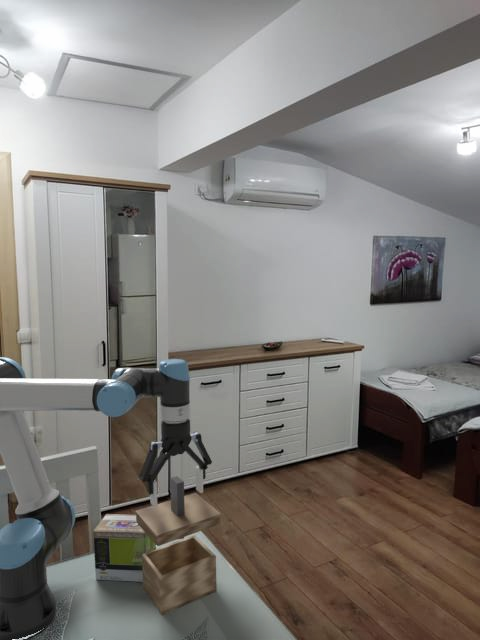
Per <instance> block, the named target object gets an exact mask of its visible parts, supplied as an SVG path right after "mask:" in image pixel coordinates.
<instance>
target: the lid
mask: <svg viewBox="0 0 480 640" xmlns="http://www.w3.org/2000/svg"><path fill="white" fill-rule="evenodd" d="M169 480H170V500H167V501H164V502H161V503H157V507H154V506H153V505H150V506H148V507H143V508H140V509H137V510H135V511H134V513H135V514H134V515H136V521H137V523H138V524H139V526H140V527H141V528H142V529H143V530H144V532H145V533H146V534H147V535H148V536H149V537H150V539H151V540H152V541H153V542H154V543H155V545H156V547H160V546H162V545H167V544H168V543H171V542H175V541H176V540H177V541H178V540H179V539H182V538H183V539H184V538H186V537H188V536H192V535H194V534H196V533H199V532H201V531H204V530H207V529H210V528H214V527H215V526H219V525H221V518H222V513H221V512H220V511H219V510H217V509H216V508H215V507H214V506H213V505H211V504H210V503H209V502H208V501H206V500H205V499H204V498H203V497H202V496H200V495H199V494H198V493H197V492H193V493H191V494H187V495H185V481H184V480H182V478H180V477H179V476H178V475H177V476H173V477H170V478H169Z"/></svg>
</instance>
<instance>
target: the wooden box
mask: <svg viewBox="0 0 480 640" xmlns="http://www.w3.org/2000/svg"><path fill="white" fill-rule="evenodd" d="M142 566H143V582H142V589H143V590H144V592H145V593H146V595H147V597H148V598H149V600H151V602H152V604H153V605H154V606H155V608H156V609H157V611H158V613H159V614H160V615H161V616H164V615H166V614H169V613H170V612H172V611H174V610H177V609H179V608H182V607H184V606H185V605H188V604H190V603H193V602H194V601H198V600H199V599H202V598H204V597H207V596H209V595H210V594H213V593H215V592H217V589H218V588H217V556H216V554H214V553H213V552H212V551H211V550H210V549H209V547H207V546H206V544H205V543H203V542H202V541H201V540H200V539H199V538H198V537H197V536H196V535H194V534H193V535H190V536H189V537H188V536H187V537H185V538H183V539H181V540H177V541H173V542H172V543H169V544H165V545H164V546H161V547H160V546H159V547H158V548H156V549H155V550H152V551H149V552H146V553H144V554H142Z"/></svg>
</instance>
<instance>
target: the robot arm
mask: <svg viewBox="0 0 480 640" xmlns="http://www.w3.org/2000/svg"><path fill="white" fill-rule="evenodd" d="M189 370H190V369H189V363H188V362H187V361H186V360H184V359H182V358H180V359H179V358H171V359H163V360H161V361H160V362H159V365H158V367H155V368H154V367H131V366H128V367H118V368H116V369H115V370H114V371H113V374H112V376H111V378H26V377H27V376H26V373H25V370H24V368H23V367H22V366H21V365H20V364H19V363H18V362H17V361H15V360H14V359H12V358H9V357H3V356H0V456H1V457H0V458H1V459H2V461H3V464H4V467H5V469H6V471H7V472H6V473H7V475H8V477H9V480H10V483H11V486H12V489H13V491H14V494H15V497H16V500H17V502H18V504H17V507H16V509H15V510H14V512H15V515H16V518H17V519H16V520H14V521H13V522H12V523H10V522H8V523H7V524H5V525H3V527H1V528H0V640H12V639H19V638H22V637H26V636H28V635H31V634H34V633H36V632H38V631H40V630H42V629H43V628H45V627H46V626H48V625H49V624H50V623H52V622H53V621H54V619H55V618H56V614H57V604H56V603H57V602H56V599H55V596H54V594H53V592H52V590H51V588H50V586H49V583H48V579H47V563H48V561H49V560H50V558H51V557H52V556H53V554H54V553H55V552H56V551H57V549H58V547H60V545H61V544H62V543H63V542H64V541H65V540H66V539H67V537H68V536H69V535H70V533H71V531H72V529H73V528H74V526H75V523H76V522H75V521H76V510H75V507H74V505H73V503H72V502H71V501H70V500H69V498H68V499H67V498H66V497H65V496H63V495H61V493H60V491H59V490H58V489H55V488H53V487H52V486H51V483H50V480H49V478H48V474H47V473H46V469H45V467H44V465H43V462H42V459H41V456H40V453H39V451H38V448H37V445H36V442H35V439H34V436H33V434H32V431H31V429H30V426H29V424H28V420H27V418H26V416H25V412H101V414H103V415H105V416H108V417H110V418H117V417H118V418H119V417H120V416H123V415H124V414H126V413H128V412H129V411H130V410H131V409H132V408H133V407H134V405H136V403H137V402H140V400H141V399H142V398H159V400H160V401H159V402H160V419H161V421H160V431H161V432H160V434H161V440H160V441H156V442H155V441H154V440H151V441H149V450H148V453H147V454H146V457H145V461H144V463H143V466H142V467H141V470H140V473H139V475H138V479H139V480H141V482H143V483H146V492H147V493H148V495H149V497H150V498H149V500H150V502H149V503H150V504H151V506H154V507H157V504H158V482H157V481H156V480H155V479H157V476H158V475H159V473H160V472H161V470H162V469H163V467H164V465H165V464H166V462H167V461H168V460H170V458H171V457H175V456H178V455H183V454H184V453H186V454H187V455H188V456H189V457H190V458H191V459H192V460H193V461H194V462H195V463H196V464H197V466H195V490H196V491H197V492H198V493H200V494H203V493H204V480H205V479H206V474H207V473H206V470H207V469H208V467H209V465H212V463H213V460H212V458H211V457H210V455H209V453H208V451H207V449H206V447H205V445H204V443H203V441H202V440H203V438H202V434H201V433H199V432H197V431H193V433H191V420H190V417H191V409H190V408H191V404H190V400H191V399H190V379H191V378H190V371H189ZM192 441H193V443H194V444H195V446H196V448H197V450H198V452H199V454H200V456H201V458H202V459H201V458H200V457H199V456H198V455H197V454H196V453H195V452H194V450H193V449H192V447H190V446H189V445H190V444H191V442H192ZM160 448H162V449H161V451H160ZM158 451H160V452H159V455H158ZM157 455H158V457H157ZM156 458H157V459H156ZM50 625H51V624H50ZM50 625H49V626H50ZM49 626H48V627H49Z"/></svg>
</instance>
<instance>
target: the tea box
mask: <svg viewBox="0 0 480 640" xmlns="http://www.w3.org/2000/svg"><path fill="white" fill-rule="evenodd" d="M92 533H93V552H94V553H93V554H94V569H95V571H94V572H95V580H99V581H101V580H103V581H120V582H121V581H122V582H139V583H143V566H142V554H144V553H146V552H149V551H152V550H155V549H157V545H155V543H154V542H153V541H152V540H151V539H150V537H149V536H148V535H147V534H146V533H145V532H144V530H143V529H142V528H141V527H140V526H139V524H138V523H137V521H136V514H124V513H123V514H120V513H119V514H118V513H117V514H114V513H113V514H112V513H106V514H105V515H104V517H103V518H102V519H101V520H100V522H99V523H98V525H96V527H95V528H94V529H93V531H92Z"/></svg>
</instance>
